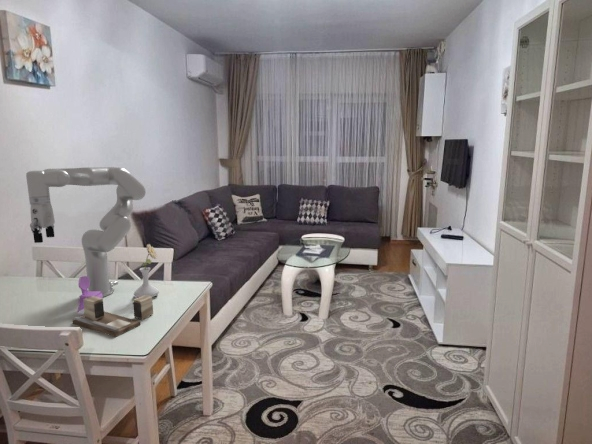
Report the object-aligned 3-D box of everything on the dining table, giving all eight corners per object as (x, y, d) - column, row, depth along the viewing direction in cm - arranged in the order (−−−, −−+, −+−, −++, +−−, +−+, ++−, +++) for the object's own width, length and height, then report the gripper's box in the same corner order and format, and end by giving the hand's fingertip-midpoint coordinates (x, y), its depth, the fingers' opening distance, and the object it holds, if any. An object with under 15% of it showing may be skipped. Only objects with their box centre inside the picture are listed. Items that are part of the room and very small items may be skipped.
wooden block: (153, 314, 176) (152, 296, 175) (141, 320, 170) (139, 302, 169) (145, 312, 178) (144, 295, 177) (133, 318, 172) (132, 300, 171)
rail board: (98, 313, 177) (97, 292, 175) (140, 324, 166) (138, 302, 164) (72, 323, 167) (70, 301, 165) (115, 336, 155) (113, 313, 154)
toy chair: (96, 313, 177) (93, 280, 174) (75, 313, 177) (72, 280, 174) (105, 306, 185) (102, 274, 182) (86, 305, 185) (83, 274, 182)
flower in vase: (148, 302, 190) (145, 249, 185) (128, 298, 194) (125, 247, 189) (166, 292, 202) (163, 243, 198) (147, 289, 206) (143, 241, 201)
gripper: (38, 203, 165) (43, 244, 168) (59, 197, 182) (63, 235, 185) (18, 203, 164) (24, 244, 168) (41, 197, 181) (46, 235, 185)
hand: (44, 239), depth 176 cm, fingers open, 9 cm apart
